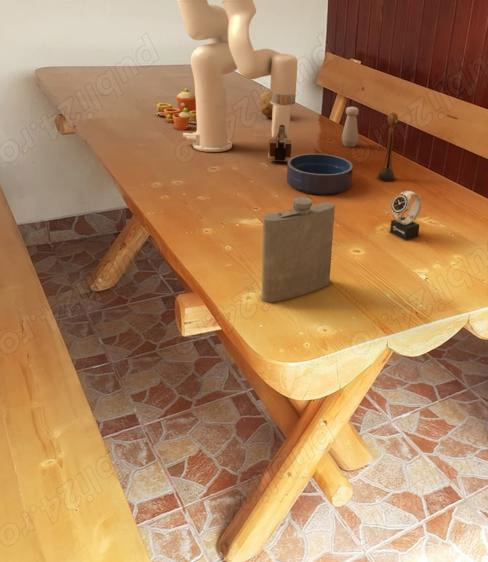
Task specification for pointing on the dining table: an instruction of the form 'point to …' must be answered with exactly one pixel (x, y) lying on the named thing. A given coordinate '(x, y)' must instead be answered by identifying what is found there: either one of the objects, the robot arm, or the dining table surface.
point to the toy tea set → (180, 110)
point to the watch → (401, 224)
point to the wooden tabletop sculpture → (389, 151)
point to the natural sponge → (266, 104)
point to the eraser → (272, 150)
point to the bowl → (319, 173)
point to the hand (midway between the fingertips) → (279, 156)
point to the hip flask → (297, 250)
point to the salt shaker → (350, 128)
